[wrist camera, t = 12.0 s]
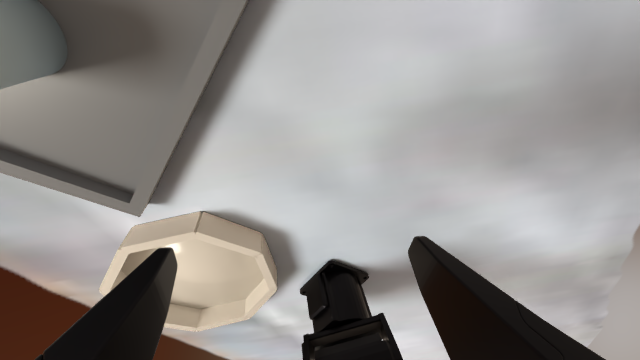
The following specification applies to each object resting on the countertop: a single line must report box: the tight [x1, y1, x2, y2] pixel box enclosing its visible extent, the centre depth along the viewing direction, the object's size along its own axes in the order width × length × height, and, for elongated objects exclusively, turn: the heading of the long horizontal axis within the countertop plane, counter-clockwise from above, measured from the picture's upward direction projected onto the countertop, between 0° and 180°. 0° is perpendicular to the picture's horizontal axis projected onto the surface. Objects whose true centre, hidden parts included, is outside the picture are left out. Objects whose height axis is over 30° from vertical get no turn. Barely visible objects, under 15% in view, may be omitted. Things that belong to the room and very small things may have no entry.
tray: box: [0, 0, 249, 217], centre depth 13 cm, size 18×18×2 cm
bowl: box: [99, 211, 277, 332], centre depth 25 cm, size 15×15×2 cm
